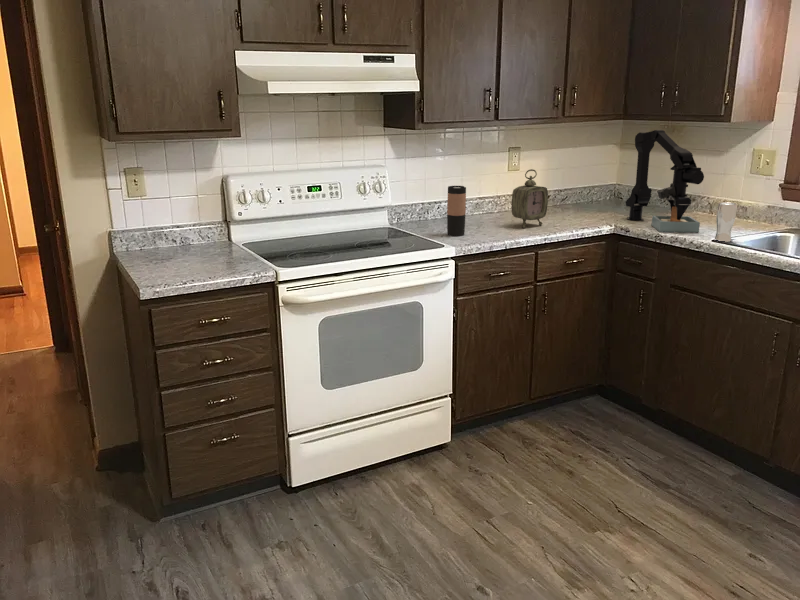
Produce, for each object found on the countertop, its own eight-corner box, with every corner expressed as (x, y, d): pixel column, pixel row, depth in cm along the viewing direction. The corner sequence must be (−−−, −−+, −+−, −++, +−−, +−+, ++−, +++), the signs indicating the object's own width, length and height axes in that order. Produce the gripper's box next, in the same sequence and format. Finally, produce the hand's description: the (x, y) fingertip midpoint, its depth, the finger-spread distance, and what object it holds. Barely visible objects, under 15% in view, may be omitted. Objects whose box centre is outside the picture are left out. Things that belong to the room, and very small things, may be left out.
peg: (668, 227, 300) (670, 206, 297) (677, 227, 299) (680, 206, 296) (670, 228, 296) (673, 208, 293) (680, 229, 295) (683, 208, 293)
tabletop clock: (523, 229, 298) (526, 171, 290) (508, 226, 305) (511, 169, 297) (546, 225, 306) (549, 169, 298) (531, 222, 313) (534, 167, 305)
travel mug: (443, 235, 286) (444, 187, 280) (452, 232, 292) (453, 185, 286) (459, 237, 282) (460, 188, 276) (468, 234, 288) (469, 186, 282)
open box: (651, 225, 306) (652, 215, 304) (688, 226, 304) (689, 216, 302) (659, 232, 291) (660, 221, 290) (698, 233, 289) (699, 222, 288)
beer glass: (712, 241, 273) (717, 204, 269) (713, 238, 279) (718, 201, 275) (731, 243, 270) (737, 205, 266) (732, 239, 276) (737, 202, 272)
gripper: (655, 178, 301) (651, 213, 306) (665, 184, 284) (661, 221, 288) (681, 178, 300) (677, 214, 305) (693, 184, 282) (689, 221, 287)
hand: (675, 217), depth 296 cm, fingers open, 9 cm apart
